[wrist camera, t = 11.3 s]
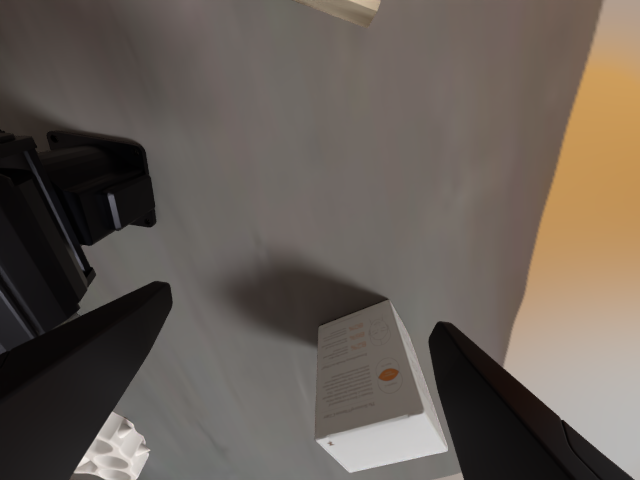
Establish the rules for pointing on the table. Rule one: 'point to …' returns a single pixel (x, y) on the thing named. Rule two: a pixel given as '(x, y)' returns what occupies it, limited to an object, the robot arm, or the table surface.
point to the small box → (372, 392)
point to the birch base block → (347, 9)
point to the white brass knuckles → (115, 451)
